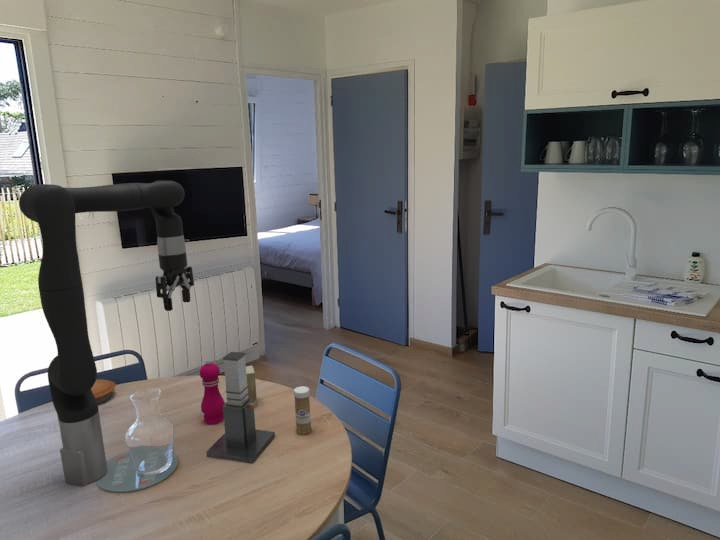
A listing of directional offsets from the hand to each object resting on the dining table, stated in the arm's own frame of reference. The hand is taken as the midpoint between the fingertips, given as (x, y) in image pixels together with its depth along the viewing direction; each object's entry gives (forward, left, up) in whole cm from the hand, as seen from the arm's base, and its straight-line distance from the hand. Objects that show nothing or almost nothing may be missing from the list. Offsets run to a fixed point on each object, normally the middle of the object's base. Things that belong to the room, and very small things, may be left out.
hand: (177, 306), depth 158 cm
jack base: (-7, -22, -38) cm, 44 cm away
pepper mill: (+5, -6, -38) cm, 39 cm away
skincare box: (+17, -12, -38) cm, 43 cm away
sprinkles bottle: (+5, -36, -38) cm, 52 cm away
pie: (+8, +43, -38) cm, 58 cm away
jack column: (-7, -22, -30) cm, 38 cm away
